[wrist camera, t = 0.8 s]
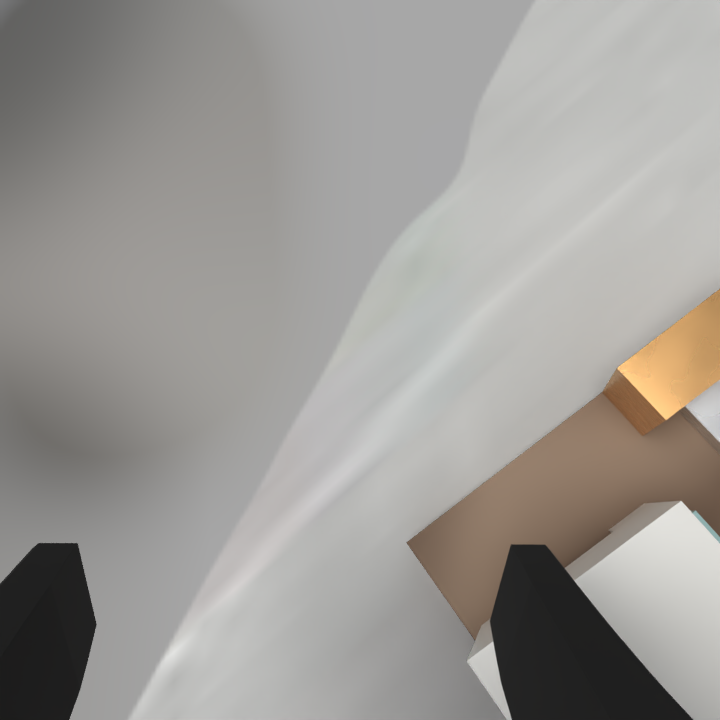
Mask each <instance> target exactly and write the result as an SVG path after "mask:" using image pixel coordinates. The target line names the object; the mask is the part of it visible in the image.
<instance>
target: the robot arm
mask: <svg viewBox="0 0 720 720" xmlns="http://www.w3.org/2000/svg"><path fill="white" fill-rule="evenodd" d="M490 626H491V631H492V637H493V643H494V649H495V654H496V659H497V665H498V670H499V675H500V680H501V684H502V688H503V691H504V695H505V698H506V702H507V705H508V708H509V712H510V715H511V718H512V720H693V719H692V718H691V717H690V715H689V714H688V713H687V712H686V711H685V710H684V709H683V708H682V707H681V706H680V705H679V704H678V703H677V701H676V700H675V699H674V698H673V697H672V696H671V695H670V694H669V693H668V692H667V691H666V690H665V688H664V687H663V686H662V685H661V684H660V683H659V682H658V681H657V679H656V678H655V677H654V676H653V675H652V674H651V673H650V672H649V670H648V669H647V668H646V667H645V666H644V665H643V663H642V662H641V661H640V660H639V659H638V658H637V656H636V655H635V654H634V653H633V652H632V651H631V649H630V648H629V647H628V646H627V645H626V644H625V642H624V641H623V640H622V639H621V638H620V637H619V635H618V634H617V633H616V632H615V631H614V629H613V628H612V627H611V626H610V625H609V623H608V622H607V621H606V620H605V618H604V617H603V616H602V615H601V614H600V612H599V611H598V610H597V609H596V607H595V606H594V605H593V604H592V602H591V601H590V600H589V599H588V597H587V596H586V595H585V594H584V592H583V591H582V590H581V589H580V587H579V586H578V585H577V583H576V582H575V581H574V580H573V578H572V577H571V576H570V575H569V573H568V572H567V571H566V569H565V568H564V567H563V566H562V564H561V563H560V562H559V561H558V559H557V558H556V557H555V555H554V554H553V553H552V552H551V550H550V549H549V548H548V547H547V546H546V545H535V544H511V546H510V549H509V553H508V556H507V560H506V564H505V567H504V571H503V575H502V578H501V582H500V586H499V589H498V593H497V596H496V600H495V604H494V607H493V611H492V615H491V618H490ZM95 628H96V621H95V616H94V612H93V607H92V603H91V599H90V595H89V590H88V586H87V582H86V578H85V574H84V569H83V565H82V561H81V556H80V552H79V548H78V544H77V543H39V544H37V545H36V546H35V547H34V548H32V550H31V551H30V552H29V553H28V554H27V555H26V556H25V557H24V558H23V559H22V560H21V562H20V563H19V564H18V565H17V566H16V567H15V568H14V569H13V570H12V571H11V573H10V574H9V575H8V576H7V577H6V578H5V579H4V580H3V581H2V582H1V584H0V720H69V719H70V716H71V713H72V710H73V708H74V705H75V702H76V699H77V697H78V694H79V691H80V688H81V684H82V680H83V677H84V673H85V669H86V665H87V661H88V657H89V653H90V649H91V645H92V641H93V637H94V633H95Z"/></svg>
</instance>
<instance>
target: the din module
mask: <svg viewBox="0 0 720 720" xmlns="http://www.w3.org/2000/svg"><path fill="white" fill-rule="evenodd" d="M609 531H610V532H611V534H609V535H608V536H607V537H605V538H604V539H603V540H601V541H600V542H599V543H597V544H596V545H595V546H593V547H592V548H591V549H589V550H588V551H587V552H585V553H584V554H583V555H581V556H580V557H579V558H577V559H576V560H575V561H573V562H572V563H571V564H569V565H568V566H567V567H565V569H566V571H567V572H568V573H569V575H570V576H571V577H572V578H573V580H574V581H575V582H576V583H577V585H578V586H579V587H580V589H581V590H582V591H583V592H584V594H585V595H586V596H587V597H588V599H589V600H590V601H591V602H592V604H593V605H594V606H595V607H596V609H597V610H598V611H599V612H600V614H601V615H602V616H603V617H604V618H605V620H606V621H607V622H608V623H609V625H610V626H611V627H612V628H613V629H614V631H615V632H616V633H617V634H618V635H619V637H620V638H621V639H622V640H623V641H624V642H625V644H626V645H627V646H628V647H629V648H630V649H631V651H632V652H633V653H634V654H635V655H636V656H637V658H638V659H639V660H640V661H641V662H642V663H643V665H644V666H645V667H646V668H647V669H648V670H649V672H650V673H651V674H652V675H653V676H654V677H655V678H656V679H657V681H658V682H659V683H660V684H661V685H662V686H663V687H664V688H665V690H666V691H667V692H668V693H669V694H670V695H671V696H672V697H673V698H674V699H675V700H676V701H677V703H678V704H679V705H680V706H681V707H682V708H683V709H684V710H685V711H686V712H687V713H688V714H689V715H690V717H691V718H692V719H693V720H720V537H719V536H718V535H717V533H716V532H715V531H714V530H713V529H712V528H711V527H710V526H709V525H708V524H707V522H706V521H705V520H704V519H703V518H702V517H701V516H700V515H699V514H698V513H697V511H690V510H689V509H688V508H687V507H686V505H685V504H684V503H683V502H682V501H671V502H657V503H644V504H643V505H641V506H640V507H639V508H637V509H636V510H635V511H633V512H632V513H631V514H629V515H628V516H627V517H625V518H624V519H623V520H621V521H620V522H619V523H617V524H616V525H615V526H613V527H612V528H611V529H609ZM467 662H468V664H469V665H470V667H471V668H472V670H473V671H474V672H475V674H476V675H477V677H478V678H479V680H480V681H481V683H482V684H483V686H484V687H485V688H486V690H487V691H488V693H489V694H490V696H491V697H492V699H493V700H494V702H495V703H496V705H497V706H498V707H499V709H500V710H501V712H502V713H503V715H504V716H505V718H506V719H507V720H512V718H511V715H510V712H509V708H508V705H507V702H506V698H505V695H504V691H503V688H502V684H501V680H500V675H499V670H498V665H497V659H496V654H495V649H494V643H493V637H492V631H491V626H490V619H489V620H488V621H487V622H485V623H484V624H483V625H481V628H480V630H479V633H478V635H477V637H476V640H475V642H474V645H473V647H472V649H471V652H470V654H469V657H468V659H467Z"/></svg>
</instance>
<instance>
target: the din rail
mask: <svg viewBox="0 0 720 720" xmlns="http://www.w3.org/2000/svg"><path fill="white" fill-rule="evenodd" d="M602 393H603V394H604V395H605V396H606V397H607V398H608V399H609V400H610V401H611V403H612V404H613V405H614V406H615V407H616V408H617V409H618V410H619V411H620V412H621V413H622V415H623V416H624V417H625V418H626V419H627V420H628V421H629V422H630V423H631V424H632V425H633V427H634V428H635V429H636V430H637V431H638V432H639V433H640V434H641V435H642V436H643V435H645V434H646V433H648V432H649V431H651V430H652V429H654V428H655V427H657V426H658V425H660V424H661V423H663V422H664V421H666V420H667V419H668V418H670V417H671V416H672V415H674V414H675V413H676V412H678V411H679V412H680V413H681V414H682V415H683V416H684V418H685V419H686V420H687V421H688V422H689V423H690V424H691V425H692V426H693V427H694V428H695V429H696V430H697V431H698V432H699V433H700V434H701V435H702V436H703V437H704V438H705V439H706V440H707V441H708V443H709V444H710V445H711V446H712V447H713V448H714V449H715V450H716V451H717V452H718V453H719V454H720V289H719V290H718V291H717V292H715V293H714V294H713V295H711V296H710V297H709V298H707V299H706V300H705V301H704V302H702V303H701V304H700V305H698V306H697V307H696V308H694V309H693V310H692V311H691V312H689V313H688V314H687V315H685V316H684V317H683V318H681V319H680V320H679V321H678V322H676V323H675V324H674V325H672V326H671V327H670V328H668V329H667V330H666V331H665V332H663V333H662V334H661V335H659V336H658V337H657V338H655V339H654V340H653V341H652V342H650V343H649V344H648V345H646V346H645V347H644V348H642V349H641V350H640V351H639V352H637V353H636V354H635V355H633V356H632V357H631V358H629V359H628V360H627V361H626V362H624V363H623V364H622V365H620V366H619V367H618V368H617V369H616V371H615V372H614V374H613V375H612V377H611V379H610V380H609V382H608V384H607V385H606V387H605V389H604V390H603V392H602Z"/></svg>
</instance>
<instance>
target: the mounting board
mask: <svg viewBox="0 0 720 720" xmlns="http://www.w3.org/2000/svg"><path fill="white" fill-rule="evenodd" d="M671 501H682V502H683V503H684V504H685V505H686V507H687V508H688V509H689V510H690V511H697V513H698V514H699V515H700V516H701V517H702V518H703V519H704V520H705V521H706V522H707V524H708V525H709V526H710V527H711V528H712V529H713V530H714V531H715V532H716V533H717V535H718V536H719V537H720V454H719V453H718V452H717V451H716V450H715V449H714V448H713V447H712V446H711V445H710V444H709V443H708V441H707V440H706V439H705V438H704V437H703V436H702V435H701V434H700V433H699V432H698V431H697V430H696V429H695V428H694V427H693V426H692V425H691V424H690V423H689V422H688V421H687V420H686V419H685V418H684V416H683V415H682V414H681V413H680V412H679V411H678V412H676V413H675V414H674V415H672V416H671V417H670V418H668V419H667V420H666V421H664V422H663V423H661V424H660V425H658V426H657V427H655V428H654V429H652V430H651V431H649V432H648V433H646V434H645V435H643V436H642V435H641V434H640V433H639V432H638V431H637V430H636V429H635V428H634V427H633V425H632V424H631V423H630V422H629V421H628V420H627V419H626V418H625V417H624V416H623V415H622V413H621V412H620V411H619V410H618V409H617V408H616V407H615V406H614V405H613V404H612V403H611V401H610V400H609V399H608V398H607V397H606V396H605V395H604V394H603V393H601V394H599V395H598V396H597V397H595V398H594V399H593V400H592V401H590V402H589V403H588V404H586V405H585V406H584V407H582V408H581V409H580V410H579V411H577V412H576V413H575V414H573V415H572V416H571V417H569V418H568V419H567V420H565V421H564V422H563V423H562V424H560V425H559V426H558V427H556V428H555V429H554V430H552V431H551V432H550V433H549V434H547V435H546V436H545V437H543V438H542V439H541V440H539V441H538V442H537V443H536V444H534V445H533V446H532V447H530V448H529V449H528V450H526V451H525V452H524V453H523V454H521V455H520V456H519V457H517V458H516V459H515V460H513V461H512V462H511V463H509V464H508V465H507V466H506V467H504V468H503V469H502V470H500V471H499V472H498V473H496V474H495V475H494V476H493V477H491V478H490V479H489V480H487V481H486V482H485V483H483V484H482V485H481V486H480V487H478V488H477V489H476V490H474V491H473V492H472V493H470V494H469V495H468V496H466V497H465V498H464V499H463V500H461V501H460V502H459V503H457V504H456V505H455V506H453V507H452V508H451V509H450V510H448V511H447V512H446V513H444V514H443V515H442V516H440V517H439V518H438V519H437V520H435V521H434V522H433V523H431V524H430V525H429V526H427V527H426V528H425V529H424V530H422V531H421V532H420V533H418V534H417V535H416V536H414V537H413V538H412V539H410V540H409V541H408V542H407V544H408V545H409V547H410V548H411V550H412V551H413V553H414V554H415V555H416V557H417V558H418V560H419V561H420V563H421V564H422V565H423V567H424V568H425V570H426V571H427V573H428V574H429V576H430V577H431V578H432V580H433V581H434V583H435V584H436V586H437V587H438V588H439V590H440V591H441V593H442V594H443V596H444V597H445V598H446V600H447V601H448V603H449V604H450V606H451V607H452V608H453V610H454V611H455V613H456V614H457V616H458V617H459V618H460V620H461V621H462V623H463V624H464V626H465V627H466V628H467V630H468V631H469V633H470V634H471V636H472V637H473V638H474V640H476V637H477V635H478V633H479V630H480V628H481V625H483V624H484V623H485V622H487V621H488V620H489V619H490V618H491V615H492V611H493V607H494V604H495V600H496V596H497V593H498V589H499V586H500V582H501V578H502V575H503V571H504V567H505V564H506V560H507V556H508V553H509V549H510V546H511V544H535V545H546V546H547V547H548V548H549V549H550V550H551V552H552V553H553V554H554V555H555V557H556V558H557V559H558V561H559V562H560V563H561V564H562V566H563V567H564V568H565V567H567V566H568V565H569V564H571V563H572V562H573V561H575V560H576V559H577V558H579V557H580V556H581V555H583V554H584V553H585V552H587V551H588V550H589V549H591V548H592V547H593V546H595V545H596V544H597V543H599V542H600V541H601V540H603V539H604V538H605V537H607V536H608V535H609V534H611V532H610V531H609V529H611V528H612V527H613V526H615V525H616V524H617V523H619V522H620V521H621V520H623V519H624V518H625V517H627V516H628V515H629V514H631V513H632V512H633V511H635V510H636V509H637V508H639V507H640V506H641V505H643V504H644V503H657V502H671Z"/></svg>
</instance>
